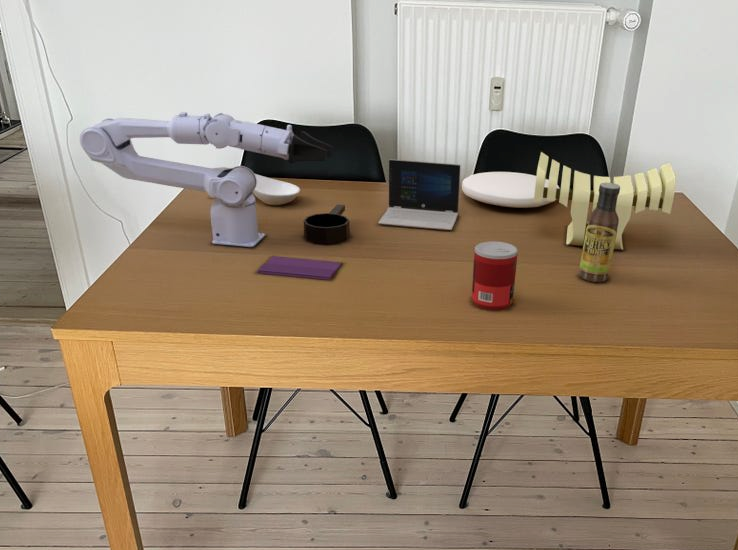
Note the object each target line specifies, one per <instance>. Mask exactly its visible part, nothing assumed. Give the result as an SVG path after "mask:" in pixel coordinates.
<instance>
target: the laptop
mask: <svg viewBox="0 0 738 550" xmlns="http://www.w3.org/2000/svg"><path fill="white" fill-rule="evenodd" d="M460 183H461V164H456V163H446V162H445V163H443V162H431V161H429V162H428V161H420V160H419V161H417V160H407V159H405V160H404V159H393V158H390V159H388V208H387V209H386V211H385V212H384V214H383V215H382V217H381V218H380V219H379V220H378V222H377V223H378V224H379V225H383V226H391V227H402V228H403V227H404V228H414V229H416V228H417V229H427V230H436V231H437V230H439V231H452V230H453V228H454V226H455V223H456V221H457V219H458V217H459V203H460V187H461V186H460V185H461V184H460Z"/></svg>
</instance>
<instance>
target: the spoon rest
mask: <svg viewBox="0 0 738 550" xmlns="http://www.w3.org/2000/svg"><path fill="white" fill-rule="evenodd" d="M254 174H255V176H256V180H257V185H256V188H255V189H254V191H252V192H253V195H254V196H255V198H256V199H259V200H260V201H261V202H263V203H264V204H266V205H269V206H283V205H286V204H289V203H290V202H292V201H294V200H295V199H296V198H297V197H298V196H299V194H300V192H301V188H300V187H299V186H298V185H296V184H293V183H290V182H287V181H283V180H278V179H275V178H272V177H271V178H270V177H267V176H263V175H260V174H257V173H254Z"/></svg>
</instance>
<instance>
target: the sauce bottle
mask: <svg viewBox="0 0 738 550" xmlns="http://www.w3.org/2000/svg"><path fill="white" fill-rule="evenodd" d="M619 192H620V186H619V185H618V184H615V183H613V182H610V183H601V184H600V186H599V197H598V202H597V207H596V208H595V209H594V210H593V212H592V213H591V212H590V214H589V216H588V218H587V222H588V226H587V228H586V234H585V235H584V242H583V246H582V250H581V251H582V252H581V258H580V263H579V271H578V275H579V277H580V279H582V280H585V281H588V282H591V283H603V282H606V281H607V280H608V279H609V273H610V272H611V271H610V270H611V266H612V261H613V255H614V250H615V249H614V245H615V240H616V235H617V227H618V223H619V218H618V215H617V213H616V210H615V209H616V203H617V197H618V194H619Z"/></svg>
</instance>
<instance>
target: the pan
mask: <svg viewBox="0 0 738 550" xmlns="http://www.w3.org/2000/svg"><path fill="white" fill-rule="evenodd" d="M345 211H346V205H345V204H336V205H335V206H334V207H333V208H332V209H331V210H330V212H329V213H328V212H324V213H314V214H311V215H307V216H306V217H305V218H304V219H303V221H302V222H303V238H304V239H305V241H307V242H309V243H311V244H314V245H323V246H331V245H339V244H342V243H345V242H347V241H348V240H349V239H350V238H351V237H350V236H351V231H350V229H351V227H350V219H349V218H348V217H347V216H345V215H343V214H344V212H345Z"/></svg>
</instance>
